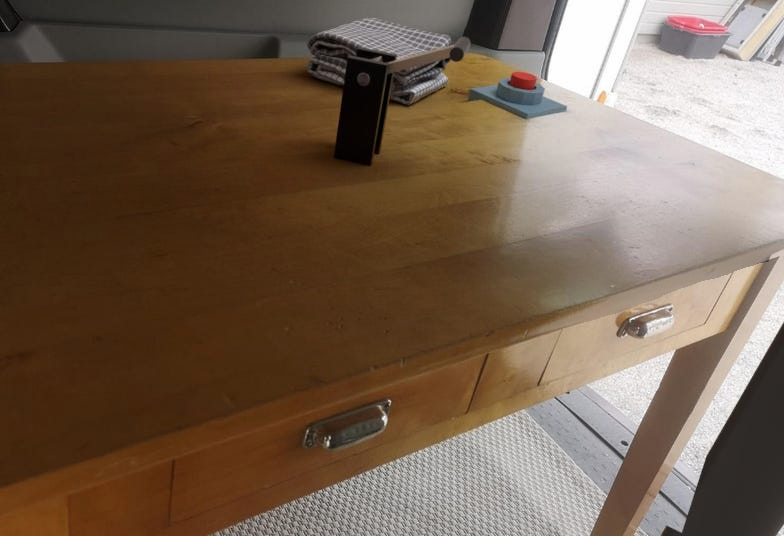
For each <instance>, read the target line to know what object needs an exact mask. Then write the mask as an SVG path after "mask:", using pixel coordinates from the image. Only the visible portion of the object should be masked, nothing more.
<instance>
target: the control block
mask: <svg viewBox="0 0 784 536" xmlns="http://www.w3.org/2000/svg"><path fill="white" fill-rule="evenodd" d="M510 79H511V77H504V78H500V80H499V81H498V83H497V84H491V85H485V86H478V87H472V88H470V89H469V93H468V98H467V103H469V102H473V101H481V100H483V101H485V102H487V103H489V104H492V105H494V106H496V107H499V108H500V109H503V110H505V111H507V112H510V113H512V114H513V115H516V116H518V117H521V118H523V119H525V120H529V119H534V118H535V119H536V118H539V117H544V116H549V115H555V114H559V113H564V112H567V109H568V105H565V104H563V103H560V102H559V101H556V100H553V99H551V98H548V97H546V96H545V95H544V94H545V90H546V88H545V87H544V86H543V85H542V84H540V83H537V82H536V84H535V87H534V90H523V89H518V88H515V87H512V86H510V85H509V83H510Z"/></svg>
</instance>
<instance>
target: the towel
mask: <svg viewBox="0 0 784 536" xmlns="http://www.w3.org/2000/svg"><path fill="white" fill-rule="evenodd" d="M306 45H307V48H308V50H309V52H310V54H311V55H312V56H314V57H311V58H310V59H309V60H308V62H307V65H306V68H305V71H306V72H307V73H309V74H310V75H312V76H313V77H315V78H316V79H318V80H321V81H324V82H329V83H332V84H335V85H336V86H337V85H338V86H342V87H343V86H344V79H345V72H346V65H347V58H348V57H349V56H355V57H356V53H357V49H358V48H359V47H362V48H367V49H372V50H377V51H382V52H387V53H392V54H397V59H396V60H398V59H402V58H405V57H409V56H413V55H417V54H421V53H424V52H428V51H432V50H436V49H439V48H443V47H447V46H451V45H452V39H451V37H450V36H449V35H448V34H443V33H441V34H440V33H436V32H430V31H425V30H423V29H417V28H414V27H410V26H406V25H402V24H399V23H395V22H391V21H387V20H384V19H380V18H375V17H364V18H361V19H358V20H353V21H351V22H349V23H343V24H341V25H339V26H337V27H335V28H330V29H326V30H323V31H319V32H318V33H315V34H313V36H311V37H310V38H309V40H308V42H306ZM451 61H452V60H451V58H447V59H443V60H439V61H435V62H431V63H427V64H423V65H420V66H416V67H412V68H408V69H404V70H400V71H396V72H394V76H393V82H392V88H391V93H390V99H389V100H390V101H394V102H397V103H400V104H403V105H405V106H406V105H407V106H409V105H412V104H414V103H416V102H417V101H419V100H420V99H422V98H424V97H427V96H429V95H431V93H432V94H433V93H435V92H437V91H439V90H440V89H442V88H444V87H446V86H447V85H448V84H449V82H450V81H449V78H448V76H447V75H445V74H444V73H443V72H444V71H445V70H446V67H447V65H448V64H449V63H450V62H451Z"/></svg>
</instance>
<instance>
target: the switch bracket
mask: <svg viewBox="0 0 784 536" xmlns="http://www.w3.org/2000/svg"><path fill="white" fill-rule="evenodd" d="M380 56H382V60H383V62H380V61H375V60H370V59H373V58H376V57H380ZM396 59H397V54H392V53H387V52H382V51H377V50H372V49H367V48H362V47H359V48H358V49H357V53H356V57H355V56H349V57H348V58H347V65H346V72H345V79H344V86H343V85H342V87H343V88H342V93H341V102H340V107H339V117H338V124H337V130H336V138H335V144H334V150H333V151H334V152H333V159H337V160H340V161H345V162H349V163H353V164H358V165H363V166H366V167H371V166H372V165H373V162H374V155H379V154H380V153H381V150H382V143H383V139H384V133H385V127H386V121H387V117H388V110H389V105H390V100H391V99H390V93H391V88H392V82H393V76H394V72H393V73H389V74H387V73H388V67H389V63H387V62H390V61H394V60H396Z"/></svg>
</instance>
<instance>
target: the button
mask: <svg viewBox="0 0 784 536" xmlns="http://www.w3.org/2000/svg"><path fill="white" fill-rule="evenodd" d="M510 78H511V79H510V83H509V85H510V86H512V87H515V88H518V89H523V90H534V87H535V84H536V83H537V79H538V77H537V76H535V75H534V74H532V73H530V72H529V73H528V72H524V71H513V72H512V73H511V75H510Z"/></svg>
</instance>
